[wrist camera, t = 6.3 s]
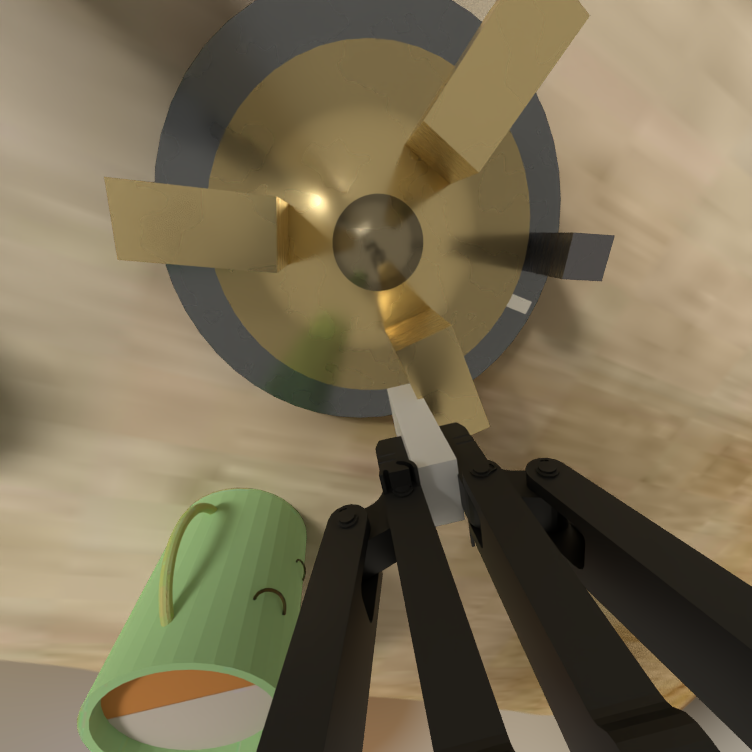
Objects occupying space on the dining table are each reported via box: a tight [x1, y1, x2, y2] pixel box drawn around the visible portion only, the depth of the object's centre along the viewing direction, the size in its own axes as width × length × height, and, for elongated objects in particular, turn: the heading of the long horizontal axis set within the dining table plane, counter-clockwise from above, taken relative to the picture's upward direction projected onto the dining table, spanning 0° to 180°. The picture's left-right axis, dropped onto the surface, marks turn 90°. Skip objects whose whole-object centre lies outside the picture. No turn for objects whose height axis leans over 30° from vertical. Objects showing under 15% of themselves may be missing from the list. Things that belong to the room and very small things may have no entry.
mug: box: [77, 488, 307, 752], centre depth 23 cm, size 13×10×12 cm
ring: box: [155, 0, 614, 418], centre depth 18 cm, size 22×22×7 cm
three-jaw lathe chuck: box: [104, 0, 590, 435], centre depth 17 cm, size 17×18×6 cm
